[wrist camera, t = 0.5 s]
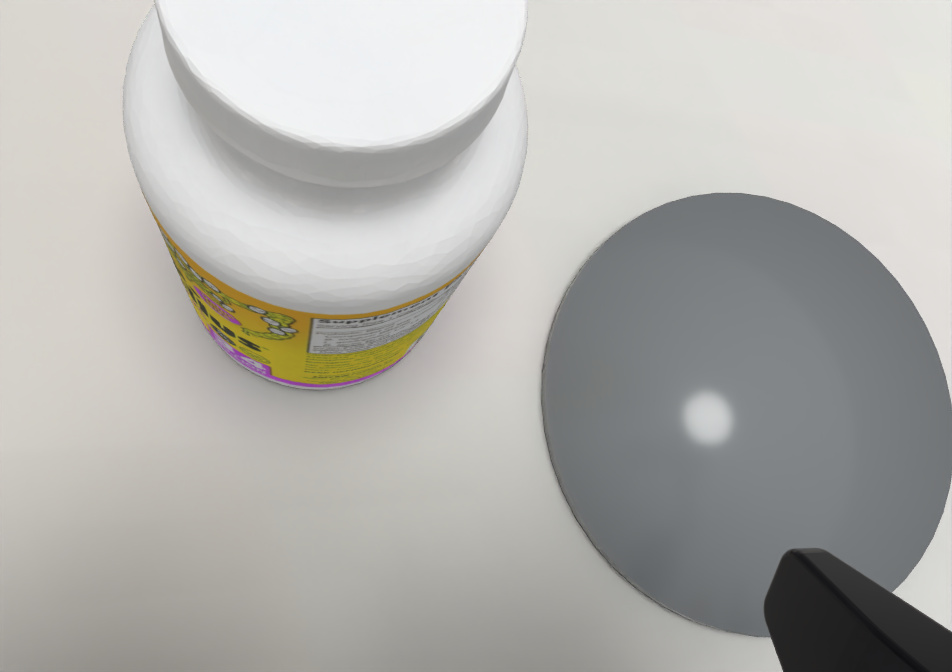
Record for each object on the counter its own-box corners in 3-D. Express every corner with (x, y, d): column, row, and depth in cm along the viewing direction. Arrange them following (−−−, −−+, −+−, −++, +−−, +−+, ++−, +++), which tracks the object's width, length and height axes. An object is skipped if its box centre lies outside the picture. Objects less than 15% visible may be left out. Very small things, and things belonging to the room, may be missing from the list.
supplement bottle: (159, 195, 22) (-11, -230, 10) (392, 140, 24) (498, -276, 11) (233, 431, 21) (150, 292, 9) (470, 354, 23) (678, 149, 10)
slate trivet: (1008, 520, 25) (1024, 519, 25) (661, 720, 21) (671, 725, 21) (821, 151, 27) (833, 143, 26) (470, 278, 23) (474, 272, 23)
